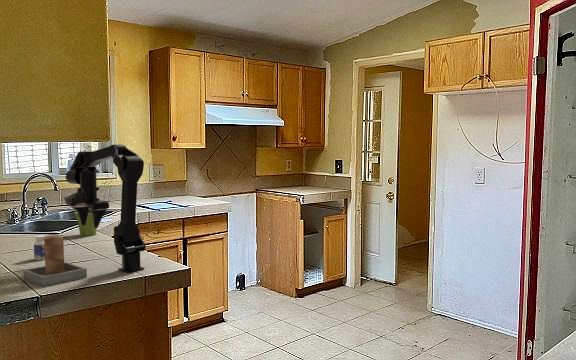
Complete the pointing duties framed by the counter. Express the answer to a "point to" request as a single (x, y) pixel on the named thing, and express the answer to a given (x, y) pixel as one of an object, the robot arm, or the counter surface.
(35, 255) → the pill bottle
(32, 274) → the box
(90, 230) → the plant pot
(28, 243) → the counter surface
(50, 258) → the walnut block
